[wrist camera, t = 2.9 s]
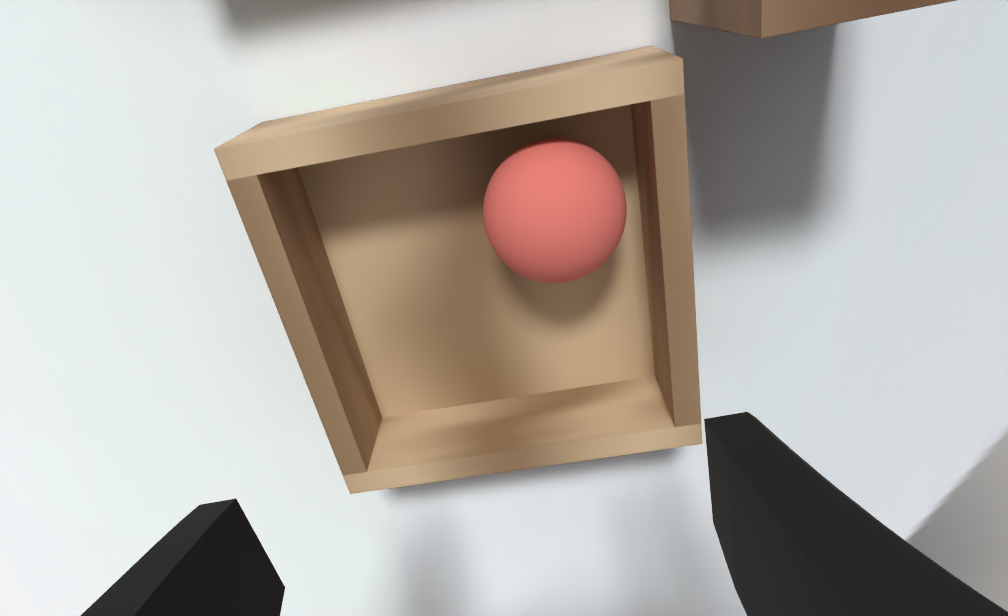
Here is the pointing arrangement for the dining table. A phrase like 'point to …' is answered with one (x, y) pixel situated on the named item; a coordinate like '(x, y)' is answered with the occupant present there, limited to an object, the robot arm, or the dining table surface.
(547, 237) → the red ball
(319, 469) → the dining table surface
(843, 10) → the walnut block
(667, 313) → the box with ball
